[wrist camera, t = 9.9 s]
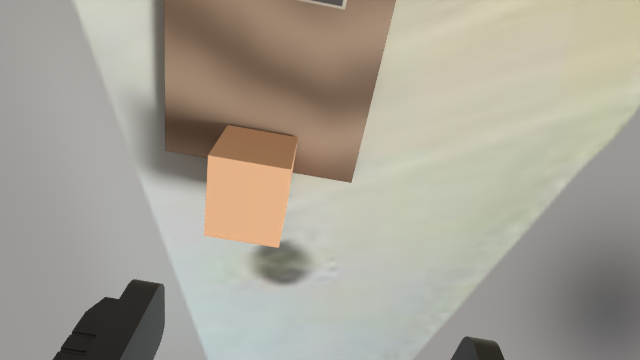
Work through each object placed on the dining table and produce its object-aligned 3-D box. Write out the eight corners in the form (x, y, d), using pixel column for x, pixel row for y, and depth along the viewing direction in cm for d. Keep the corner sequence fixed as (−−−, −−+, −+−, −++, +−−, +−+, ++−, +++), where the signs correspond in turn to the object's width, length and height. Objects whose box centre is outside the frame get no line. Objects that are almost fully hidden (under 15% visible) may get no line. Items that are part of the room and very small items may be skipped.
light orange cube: (227, 124, 29) (207, 155, 24) (298, 137, 29) (291, 169, 24) (222, 196, 31) (204, 235, 27) (286, 207, 32) (278, 247, 27)
